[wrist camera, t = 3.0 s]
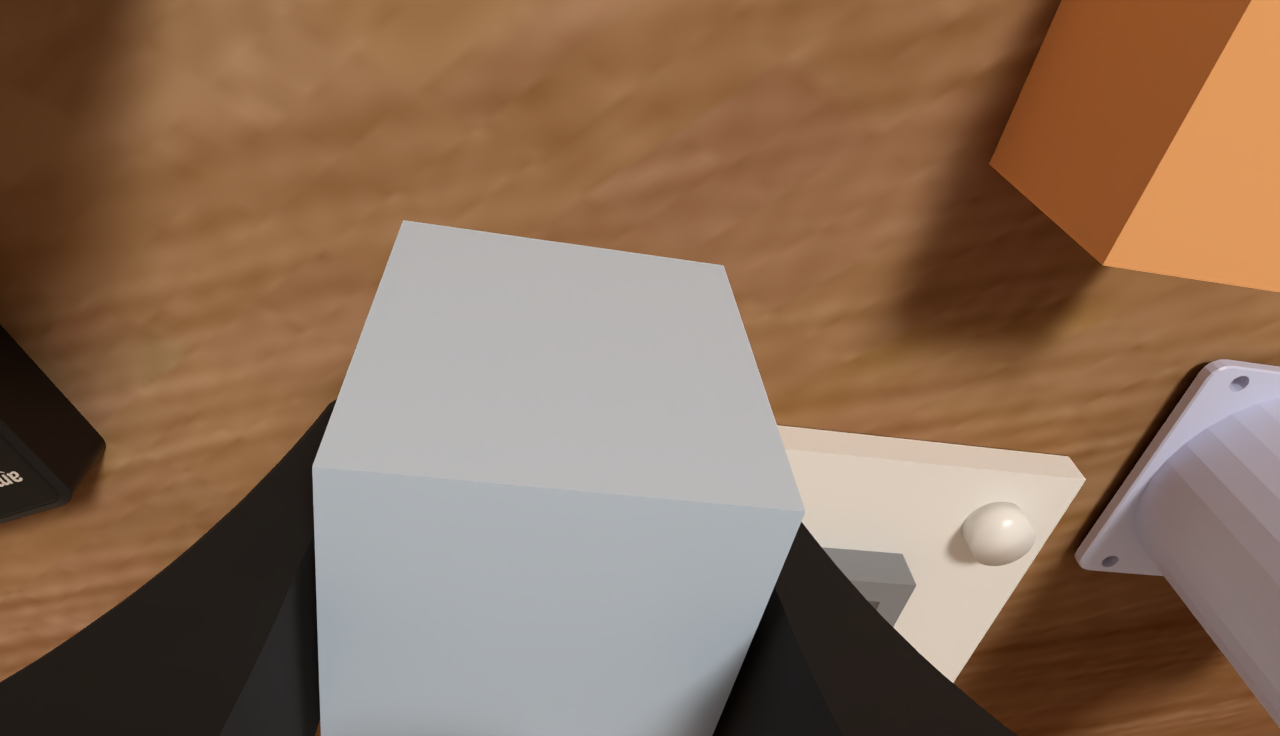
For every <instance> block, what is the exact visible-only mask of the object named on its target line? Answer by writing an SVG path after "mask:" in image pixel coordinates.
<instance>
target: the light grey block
mask: <svg viewBox="0 0 1280 736" xmlns="http://www.w3.org/2000/svg"><path fill="white" fill-rule="evenodd" d="M312 476H313V507H314V538H315V569H316V600H317V631H318V662H319V693H320V725H321V736H712V735H713V733H714V731H715V728H716V726H717V723H718V721H719V719H720V716H721V714H722V711H723V709H724V707H725V704H726V702H727V699H728V697H729V695H730V692H731V690H732V687H733V685H734V682H735V680H736V678H737V675H738V673H739V670H740V668H741V666H742V663H743V661H744V658H745V656H746V654H747V651H748V649H749V646H750V644H751V642H752V639H753V637H754V634H755V632H756V630H757V627H758V625H759V622H760V620H761V618H762V615H763V613H764V610H765V608H766V606H767V603H768V601H769V598H770V596H771V594H772V591H773V589H774V586H775V584H776V582H777V579H778V577H779V574H780V572H781V569H782V567H783V565H784V562H785V560H786V557H787V555H788V553H789V550H790V548H791V545H792V543H793V541H794V538H795V536H796V533H797V531H798V529H799V526H800V524H801V521H802V519H803V517H804V514H805V512H806V511H805V508H804V505H803V502H802V499H801V496H800V493H799V490H798V487H797V484H796V481H795V478H794V475H793V472H792V469H791V466H790V463H789V460H788V457H787V454H786V451H785V448H784V445H783V442H782V439H781V436H780V433H779V430H778V427H777V424H776V421H775V418H774V415H773V412H772V409H771V406H770V403H769V400H768V397H767V394H766V391H765V388H764V385H763V382H762V379H761V376H760V373H759V370H758V367H757V364H756V361H755V358H754V355H753V352H752V349H751V346H750V343H749V340H748V337H747V334H746V331H745V328H744V325H743V322H742V319H741V316H740V313H739V310H738V307H737V304H736V301H735V298H734V295H733V292H732V289H731V286H730V283H729V280H728V277H727V274H726V271H725V268H724V265H716V264H709V263H702V262H695V261H688V260H681V259H674V258H667V257H660V256H653V255H646V254H639V253H632V252H624V251H617V250H610V249H603V248H596V247H589V246H582V245H575V244H568V243H561V242H554V241H547V240H540V239H532V238H525V237H518V236H511V235H504V234H497V233H490V232H483V231H476V230H469V229H462V228H455V227H448V226H440V225H433V224H426V223H419V222H412V221H405V220H403V222H402V225H401V227H400V230H399V233H398V236H397V238H396V241H395V244H394V246H393V249H392V252H391V255H390V257H389V260H388V263H387V265H386V268H385V271H384V274H383V276H382V279H381V282H380V284H379V287H378V290H377V292H376V295H375V298H374V301H373V303H372V306H371V309H370V311H369V314H368V317H367V320H366V322H365V325H364V328H363V330H362V333H361V336H360V339H359V341H358V344H357V347H356V349H355V352H354V355H353V358H352V360H351V363H350V366H349V368H348V371H347V374H346V376H345V379H344V382H343V385H342V387H341V390H340V393H339V395H338V398H337V401H336V404H335V406H334V409H333V412H332V414H331V417H330V420H329V423H328V425H327V428H326V431H325V433H324V436H323V439H322V441H321V444H320V447H319V450H318V452H317V455H316V458H315V460H314V463H313V466H312Z"/></svg>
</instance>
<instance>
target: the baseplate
mask: <svg viewBox="0 0 1280 736" xmlns="http://www.w3.org/2000/svg"><path fill="white" fill-rule="evenodd" d="M777 427H778V430H779V433H780V436H781V439H782V442H783V445H784V448H785V451H786V454H787V457H788V460H789V463H790V466H791V469H792V472H793V475H794V478H795V481H796V484H797V487H798V490H799V493H800V496H801V499H802V502H803V505H804V508H805V511H806V512H805V514H804V517H803V519H802V521H801V522H802V523H803V524H804V525H805V527H806V528H807V529H808V531H809V532H810V533H811V534H812V536H813V537H814V538H815V540H816V541H817V542H818V543H819V545H820V546H821V547H822V548H823V550H824V551H825V552H826V553H827V554H828V556H829V557H830V558H831V559H832V561H833V562H834V563H835V564H836V565H837V567H838V568H839V569H840V570H841V571H842V572H843V573H844V575H845V576H846V577H847V578H848V579H849V580H850V581H851V583H852V584H853V585H854V586H855V587H856V588H857V589H858V591H859V592H860V593H861V594H862V595H863V596H864V597H865V599H866V600H867V601H868V602H869V603H870V604H871V605H872V606H873V607H874V608H875V609H876V610H877V611H878V612H879V613H880V614H881V616H882V617H883V618H884V619H885V620H886V621H887V622H888V623H889V624H890V625H891V626H892V627H893V628H894V629H895V630H896V631H898V632H899V633H900V634H901V635H902V636H903V637H904V638H905V639H906V640H907V641H908V642H909V643H910V644H911V645H912V646H913V647H914V648H915V649H916V650H917V651H918V652H919V653H920V654H921V655H922V656H923V657H924V658H925V659H926V660H927V661H929V662H930V663H931V664H932V665H933V666H934V667H935V668H936V669H937V670H938V671H940V672H941V673H942V674H943V675H944V676H945V677H946V678H948V679H949V680H950V681H951V682H952V683H954V681H955V679H956V678H957V676H958V675H959V673H960V672H961V670H962V669H963V667H964V666H965V664H966V663H967V661H968V660H969V658H970V657H971V655H972V653H973V652H974V650H975V649H976V647H977V646H978V644H979V643H980V641H981V640H982V638H983V637H984V635H985V634H986V632H987V630H988V629H989V627H990V626H991V624H992V623H993V621H994V620H995V618H996V617H997V615H998V614H999V612H1000V611H1001V609H1002V608H1003V606H1004V604H1005V603H1006V601H1007V600H1008V598H1009V597H1010V595H1011V594H1012V592H1013V591H1014V589H1015V588H1016V586H1017V585H1018V583H1019V581H1020V580H1021V578H1022V577H1023V575H1024V574H1025V572H1026V571H1027V569H1028V568H1029V566H1030V565H1031V563H1032V562H1033V560H1034V559H1035V557H1036V555H1037V554H1038V552H1039V551H1040V549H1041V548H1042V546H1043V545H1044V543H1045V542H1046V540H1047V539H1048V537H1049V536H1050V534H1051V532H1052V531H1053V529H1054V528H1055V526H1056V525H1057V523H1058V522H1059V520H1060V519H1061V517H1062V516H1063V514H1064V513H1065V511H1066V510H1067V508H1068V506H1069V505H1070V503H1071V502H1072V500H1073V499H1074V497H1075V496H1076V494H1077V493H1078V491H1079V490H1080V488H1081V487H1082V485H1083V483H1084V482H1085V480H1086V479H1085V478H1084V476H1083V475H1082V474H1081V472H1080V471H1079V470H1078V468H1077V467H1076V466H1075V464H1074V463H1073V462H1072V461H1071V459H1070V458H1069V457H1068V456H1059V455H1050V454H1040V453H1031V452H1022V451H1012V450H1003V449H994V448H984V447H975V446H966V445H956V444H947V443H938V442H928V441H919V440H910V439H900V438H891V437H882V436H872V435H863V434H854V433H844V432H835V431H826V430H816V429H807V428H798V427H788V426H779V425H777Z"/></svg>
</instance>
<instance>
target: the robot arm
mask: <svg viewBox="0 0 1280 736" xmlns="http://www.w3.org/2000/svg"><path fill="white" fill-rule="evenodd" d="M1234 379H1235V380H1234ZM1233 380H1234V381H1233ZM336 401H337V399H336V400H335V401H333V402H332V403H330V404H329V405H328V406H327V407H326V409H325V410H324V411H323V412H322V414H321V415H320V416H319V417H318V419H317V420H316V421H315V422H314V423H313V425H312V426H311V427H310V428H309V429H308V431H307V432H306V433H305V434H304V435H303V436H302V437H301V439H300V440H299V441H298V442H297V443H296V444H295V445H294V446H293V448H292V449H291V450H290V451H289V452H288V453H287V454H286V455H285V456H284V457H283V459H282V460H281V461H280V462H279V463H278V464H277V465H276V466H275V467H274V468H273V469H272V470H271V471H270V472H269V473H268V474H267V475H266V476H265V477H264V478H263V479H262V480H261V481H260V482H259V483H258V484H257V485H256V486H255V488H254V489H253V490H252V491H251V492H250V493H249V494H248V495H247V496H246V497H245V498H244V499H243V500H242V501H241V502H239V503H238V504H237V505H236V506H235V507H234V508H233V509H232V510H231V511H230V512H229V513H228V514H227V515H225V516H224V517H223V518H222V519H221V520H220V521H219V522H218V523H217V524H216V525H214V526H213V527H212V528H211V529H210V530H209V531H208V532H207V533H206V534H205V535H204V536H202V537H201V538H200V539H199V540H198V541H197V542H196V543H195V544H194V545H192V546H191V547H190V548H189V549H188V550H187V551H185V552H184V553H183V554H182V555H181V556H179V557H178V558H177V559H176V560H175V561H173V562H172V563H171V564H170V565H169V566H167V567H166V568H165V569H164V570H162V571H161V572H160V573H159V574H157V575H156V576H155V577H154V578H152V579H151V580H150V581H148V582H147V583H146V584H145V585H143V586H142V587H141V588H139V589H138V590H137V591H136V592H134V593H133V594H132V595H130V596H129V597H128V598H126V599H125V600H124V601H122V602H121V603H120V604H118V605H117V606H115V607H114V608H112V609H111V610H110V611H108V612H107V613H105V614H104V615H103V616H101V617H100V618H98V619H97V620H96V621H94V622H93V623H91V624H90V625H88V626H87V627H86V628H84V629H83V630H81V631H80V632H79V633H77V634H76V635H74V636H73V637H71V638H70V639H68V640H67V641H65V642H64V643H62V644H61V645H59V646H58V647H56V648H55V649H53V650H52V651H50V652H49V653H47V654H46V655H44V656H43V657H41V658H40V659H38V660H37V661H35V662H33V663H32V664H30V665H28V666H27V667H25V668H23V669H22V670H20V671H18V672H17V673H15V674H13V675H12V676H10V677H8V678H7V679H5V680H3V681H2V682H0V736H315V733H316V730H317V726H318V723H319V720H320V693H319V662H318V631H317V600H316V569H315V538H314V507H313V476H312V466H313V463H314V460H315V458H316V455H317V452H318V450H319V447H320V444H321V441H322V439H323V436H324V433H325V431H326V428H327V425H328V423H329V420H330V417H331V414H332V412H333V409H334V406H335V404H336ZM1075 559H1076V561H1077V562H1078V564H1079V565H1080V567H1082V568H1083V569H1086V570H1094V571H1106V572H1118V573H1130V574H1143V575H1155V576H1164V577H1165V579H1166V580H1167V581H1168V582H1169V584H1170V585H1171V586H1172V588H1173V589H1174V590H1175V592H1176V593H1177V594H1178V596H1179V597H1180V598H1181V600H1182V601H1183V602H1184V603H1185V605H1186V606H1187V607H1188V609H1189V610H1190V611H1191V613H1192V614H1193V615H1194V617H1195V618H1196V619H1197V621H1198V622H1199V623H1200V624H1201V626H1202V627H1203V628H1204V630H1205V631H1206V632H1207V634H1208V635H1209V636H1210V638H1211V639H1212V640H1213V642H1214V643H1215V644H1216V645H1217V647H1218V648H1219V649H1220V651H1221V652H1222V653H1223V655H1224V656H1225V657H1226V659H1227V660H1228V661H1229V663H1230V664H1231V665H1232V666H1233V668H1234V669H1235V670H1236V672H1237V673H1238V674H1239V676H1240V677H1241V678H1242V680H1243V681H1244V682H1245V684H1246V685H1247V686H1248V688H1249V689H1250V690H1251V691H1252V693H1253V694H1254V695H1255V697H1256V698H1257V699H1258V701H1259V702H1260V703H1261V705H1262V706H1263V707H1264V709H1265V710H1266V711H1267V712H1268V714H1269V715H1270V716H1271V718H1272V719H1273V720H1274V722H1275V723H1276V724H1277V726H1278V727H1279V728H1280V367H1279V366H1272V365H1264V364H1257V363H1249V362H1242V361H1234V360H1227V359H1222V360H1216V361H1213V362H1210V363H1209V364H1207V365H1206V366H1204V367H1203V369H1202V370H1201V371H1200V372H1199V373H1198V375H1197V376H1196V378H1195V379H1194V381H1193V382H1192V383H1191V385H1190V386H1189V388H1188V389H1187V391H1186V392H1185V394H1184V395H1183V397H1182V398H1181V399H1180V401H1179V402H1178V404H1177V405H1176V407H1175V408H1174V410H1173V411H1172V413H1171V414H1170V415H1169V417H1168V418H1167V420H1166V421H1165V423H1164V424H1163V426H1162V427H1161V429H1160V430H1159V431H1158V433H1157V434H1156V436H1155V437H1154V439H1153V440H1152V442H1151V443H1150V445H1149V446H1148V447H1147V449H1146V450H1145V452H1144V453H1143V455H1142V456H1141V458H1140V459H1139V461H1138V462H1137V463H1136V465H1135V466H1134V468H1133V469H1132V471H1131V472H1130V474H1129V475H1128V477H1127V478H1126V479H1125V481H1124V482H1123V484H1122V485H1121V487H1120V488H1119V490H1118V491H1117V493H1116V494H1115V495H1114V497H1113V498H1112V500H1111V501H1110V503H1109V504H1108V506H1107V507H1106V509H1105V510H1104V511H1103V513H1102V514H1101V516H1100V517H1099V519H1098V520H1097V522H1096V523H1095V524H1094V526H1093V527H1092V529H1091V530H1090V532H1089V533H1088V535H1087V536H1086V538H1085V539H1084V540H1083V542H1082V543H1081V545H1080V546H1079V548H1078V549H1077V551H1076V553H1075ZM712 736H1017V735H1016V734H1014V733H1013V732H1012V731H1010V730H1009V729H1008V728H1007V727H1005V726H1004V725H1003V724H1002V723H1000V722H999V721H998V720H997V719H995V718H994V717H993V716H992V715H990V714H989V713H988V712H986V711H985V710H984V709H983V708H982V707H980V706H979V705H978V704H977V703H976V702H974V701H973V700H972V699H971V698H970V697H969V696H967V695H966V694H965V693H964V692H963V691H962V690H960V689H959V688H958V687H957V686H956V685H955V684H953V683H952V682H951V681H950V680H949V679H948V678H946V677H945V676H944V675H943V674H942V673H941V672H940V671H938V670H937V669H936V668H935V667H934V666H933V665H932V664H931V663H930V662H929V661H927V660H926V659H925V658H924V657H923V656H922V655H921V654H920V653H919V652H918V651H917V650H916V649H915V648H914V647H913V646H912V645H911V644H910V643H909V642H908V641H907V640H906V639H905V638H904V637H903V636H902V635H901V634H900V633H899V632H898V631H896V630H895V629H894V628H893V627H892V626H891V625H890V624H889V623H888V622H887V621H886V620H885V619H884V618H883V617H882V616H881V614H880V613H879V612H878V611H877V610H876V609H875V608H874V607H873V606H872V605H871V604H870V603H869V602H868V601H867V600H866V599H865V597H864V596H863V595H862V594H861V593H860V592H859V591H858V589H857V588H856V587H855V586H854V585H853V584H852V583H851V581H850V580H849V579H848V578H847V577H846V576H845V575H844V573H843V572H842V571H841V570H840V569H839V568H838V567H837V565H836V564H835V563H834V562H833V561H832V559H831V558H830V557H829V556H828V554H827V553H826V552H825V551H824V550H823V548H822V547H821V546H820V545H819V543H818V542H817V541H816V540H815V538H814V537H813V536H812V534H811V533H810V532H809V531H808V529H807V528H806V527H805V525H804V524H803V523H802V522H801V524H800V526H799V529H798V531H797V533H796V536H795V538H794V541H793V543H792V545H791V548H790V550H789V553H788V555H787V557H786V560H785V562H784V565H783V567H782V569H781V572H780V574H779V577H778V579H777V582H776V584H775V586H774V589H773V591H772V594H771V596H770V598H769V601H768V603H767V606H766V608H765V610H764V613H763V615H762V618H761V620H760V622H759V625H758V627H757V630H756V632H755V634H754V637H753V639H752V642H751V644H750V646H749V649H748V651H747V654H746V656H745V658H744V661H743V663H742V666H741V668H740V670H739V673H738V675H737V678H736V680H735V682H734V685H733V687H732V690H731V692H730V695H729V697H728V699H727V702H726V704H725V707H724V709H723V711H722V714H721V716H720V719H719V721H718V723H717V726H716V728H715V731H714V733H713V735H712Z"/></svg>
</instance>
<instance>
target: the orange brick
mask: <svg viewBox="0 0 1280 736" xmlns="http://www.w3.org/2000/svg"><path fill="white" fill-rule="evenodd" d="M989 165H990V166H992V167H993V168H994V169H995V170H996V171H997V172H998V173H999V174H1001V175H1002V176H1003V177H1004V178H1005V179H1006V180H1007V181H1008V182H1010V183H1011V184H1012V185H1013V186H1014V187H1015V188H1016V189H1017V190H1019V191H1020V192H1021V193H1022V194H1023V195H1024V196H1025V197H1026V198H1028V199H1029V200H1030V201H1031V202H1032V203H1033V204H1034V205H1035V206H1037V207H1038V208H1039V209H1040V210H1041V211H1042V212H1043V213H1044V214H1046V215H1047V216H1048V217H1049V218H1050V219H1051V220H1052V221H1053V222H1055V223H1056V224H1057V225H1058V226H1059V227H1060V228H1061V229H1062V230H1064V231H1065V232H1066V233H1067V234H1068V235H1069V236H1070V237H1071V238H1073V239H1074V240H1075V241H1076V242H1077V243H1078V244H1079V245H1080V246H1082V247H1083V248H1084V249H1085V250H1086V251H1087V252H1088V253H1089V254H1091V255H1092V256H1093V257H1094V258H1095V259H1096V260H1097V261H1098V262H1100V263H1101V264H1102V265H1104V266H1111V267H1118V268H1124V269H1131V270H1137V271H1144V272H1150V273H1157V274H1163V275H1170V276H1177V277H1183V278H1190V279H1196V280H1203V281H1209V282H1216V283H1222V284H1229V285H1235V286H1242V287H1249V288H1255V289H1262V290H1268V291H1275V292H1280V0H1061V3H1060V5H1059V7H1058V9H1057V12H1056V14H1055V16H1054V18H1053V21H1052V23H1051V25H1050V28H1049V30H1048V32H1047V34H1046V37H1045V39H1044V41H1043V43H1042V46H1041V48H1040V50H1039V52H1038V55H1037V57H1036V59H1035V61H1034V64H1033V66H1032V68H1031V70H1030V73H1029V75H1028V77H1027V79H1026V82H1025V84H1024V86H1023V88H1022V91H1021V93H1020V95H1019V97H1018V100H1017V102H1016V104H1015V106H1014V109H1013V111H1012V113H1011V115H1010V118H1009V120H1008V122H1007V125H1006V127H1005V129H1004V131H1003V134H1002V136H1001V138H1000V140H999V143H998V145H997V147H996V149H995V152H994V154H993V156H992V158H991V161H990V163H989Z"/></svg>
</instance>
